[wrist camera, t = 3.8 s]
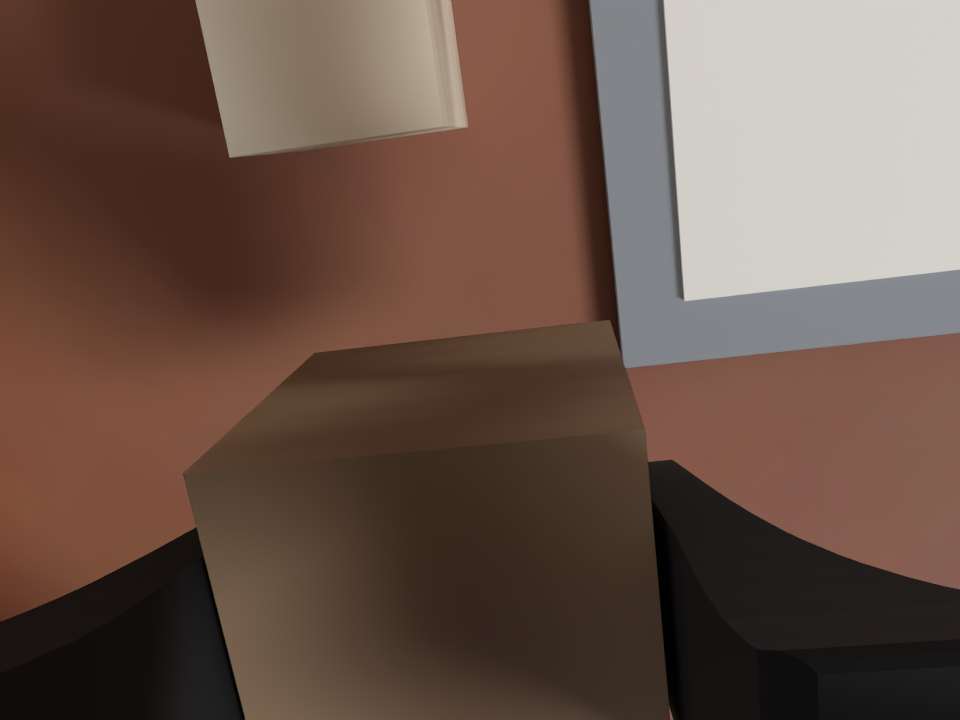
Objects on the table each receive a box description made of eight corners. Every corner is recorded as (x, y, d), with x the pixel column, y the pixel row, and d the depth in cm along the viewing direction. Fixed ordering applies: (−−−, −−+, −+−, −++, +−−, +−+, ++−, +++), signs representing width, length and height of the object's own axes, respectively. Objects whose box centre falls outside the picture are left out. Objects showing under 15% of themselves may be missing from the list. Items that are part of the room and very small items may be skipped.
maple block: (302, 151, 19) (229, 157, 14) (268, -31, 18) (177, -84, 13) (468, 127, 18) (443, 126, 14) (442, -62, 17) (406, -126, 13)
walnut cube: (365, 609, 15) (276, 838, 10) (314, 353, 13) (183, 473, 9) (635, 589, 14) (679, 823, 9) (609, 320, 13) (644, 429, 8)
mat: (621, 361, 19) (624, 370, 19) (580, -87, 17) (581, -97, 16) (1056, 314, 18) (1077, 322, 18) (1086, -176, 16) (1112, -190, 15)
